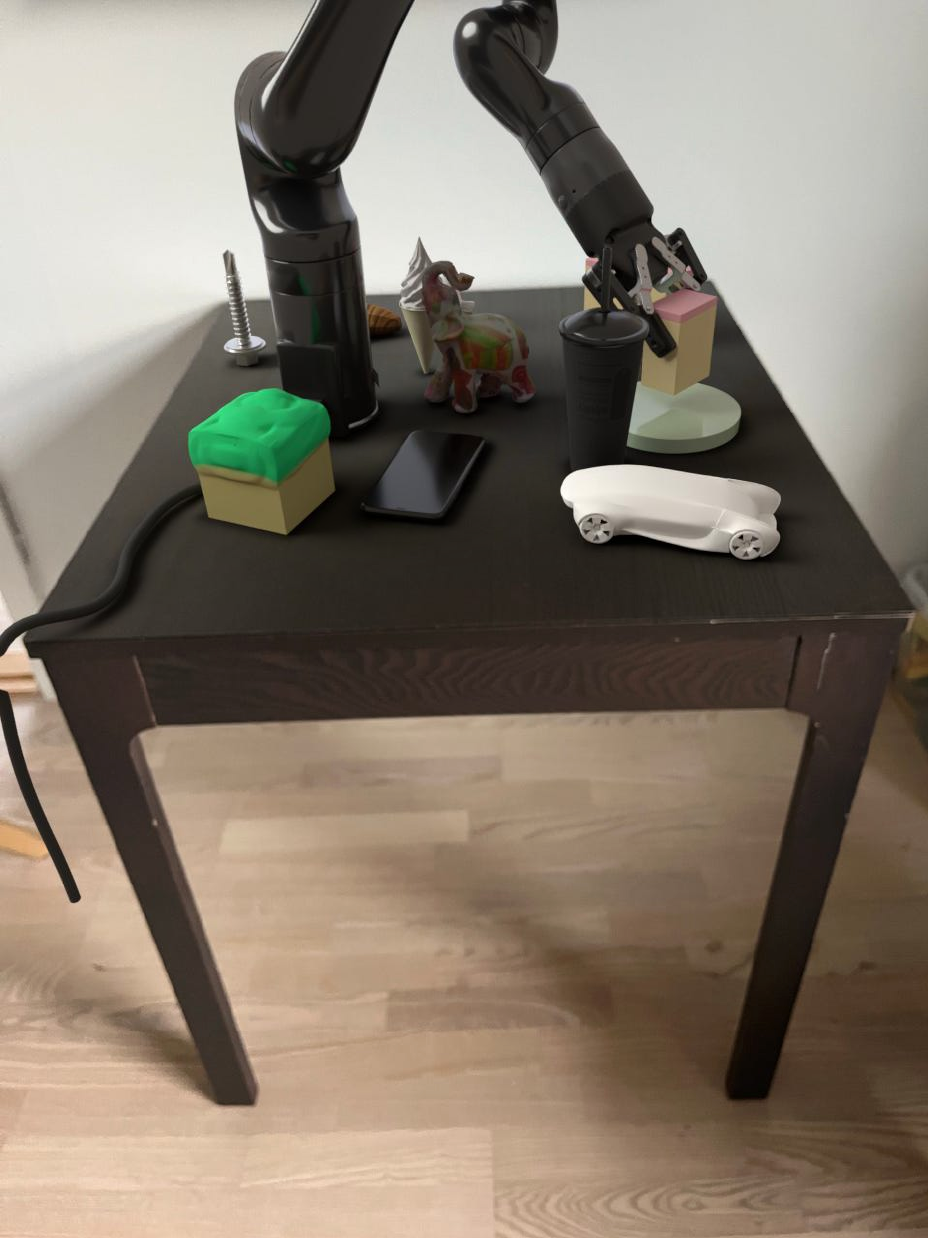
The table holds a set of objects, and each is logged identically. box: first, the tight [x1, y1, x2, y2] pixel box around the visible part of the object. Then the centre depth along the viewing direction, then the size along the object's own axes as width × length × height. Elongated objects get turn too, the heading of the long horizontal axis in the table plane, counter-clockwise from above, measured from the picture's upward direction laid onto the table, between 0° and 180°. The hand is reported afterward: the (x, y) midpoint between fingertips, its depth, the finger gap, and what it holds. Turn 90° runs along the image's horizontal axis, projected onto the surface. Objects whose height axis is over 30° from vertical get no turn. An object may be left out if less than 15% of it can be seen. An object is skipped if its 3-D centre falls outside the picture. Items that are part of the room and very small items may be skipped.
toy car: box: [560, 464, 782, 561], centre depth 81 cm, size 18×8×4 cm, turn 75°
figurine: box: [421, 260, 536, 414], centre depth 98 cm, size 8×12×15 cm, turn 73°
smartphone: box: [360, 429, 487, 523], centre depth 90 cm, size 8×1×16 cm
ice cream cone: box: [398, 236, 443, 375], centre depth 106 cm, size 5×5×15 cm
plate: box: [626, 380, 742, 454], centre depth 98 cm, size 14×14×2 cm
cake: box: [187, 387, 336, 536], centre depth 85 cm, size 10×11×10 cm
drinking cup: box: [558, 247, 649, 473], centre depth 85 cm, size 8×8×20 cm
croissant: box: [367, 301, 403, 337], centre depth 119 cm, size 14×7×5 cm, turn 85°
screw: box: [221, 249, 267, 367], centre depth 111 cm, size 13×5×5 cm
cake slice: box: [640, 289, 719, 396], centre depth 94 cm, size 4×6×8 cm, turn 135°
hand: (688, 341), depth 93 cm, fingers closed on cake slice, 6 cm apart
